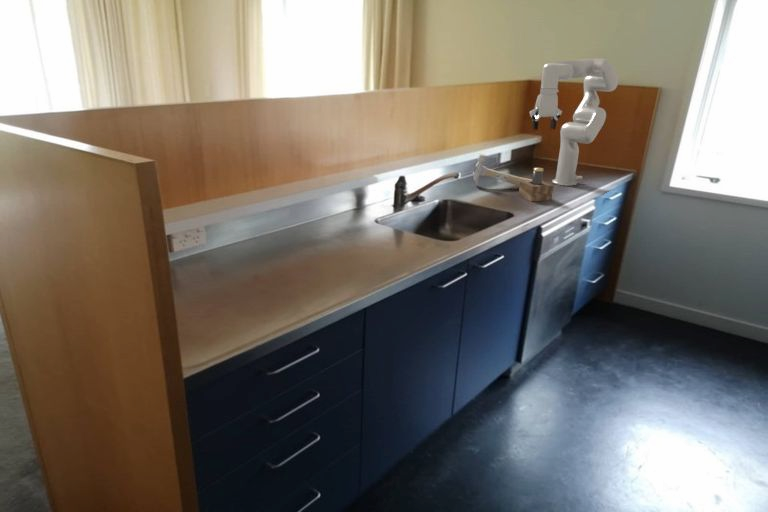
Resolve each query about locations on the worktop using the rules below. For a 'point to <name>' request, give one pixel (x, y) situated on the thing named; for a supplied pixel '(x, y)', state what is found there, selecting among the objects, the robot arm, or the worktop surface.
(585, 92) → the robot arm
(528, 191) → the socket block
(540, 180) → the dark grey capped cylinder
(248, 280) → the worktop surface
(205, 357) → the worktop surface
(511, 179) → the hammer
